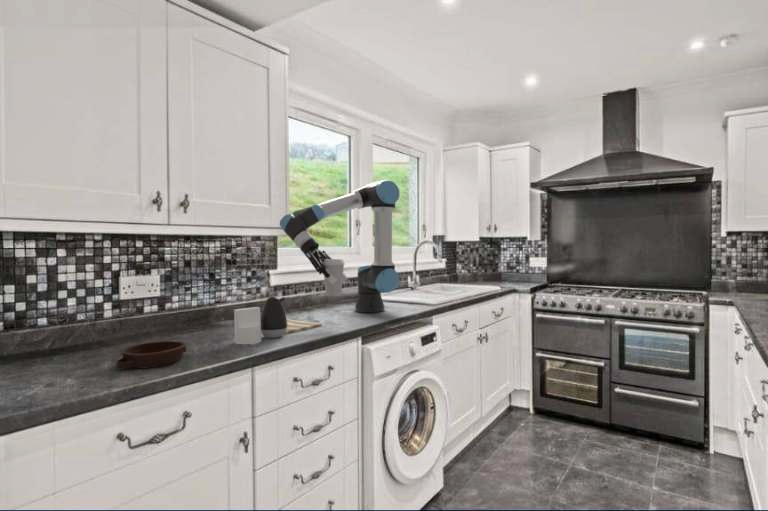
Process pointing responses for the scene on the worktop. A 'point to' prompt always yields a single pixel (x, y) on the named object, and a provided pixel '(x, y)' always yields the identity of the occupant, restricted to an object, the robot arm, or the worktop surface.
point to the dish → (151, 354)
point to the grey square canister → (247, 325)
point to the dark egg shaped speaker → (273, 318)
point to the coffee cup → (337, 271)
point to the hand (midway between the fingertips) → (340, 281)
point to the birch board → (299, 326)
